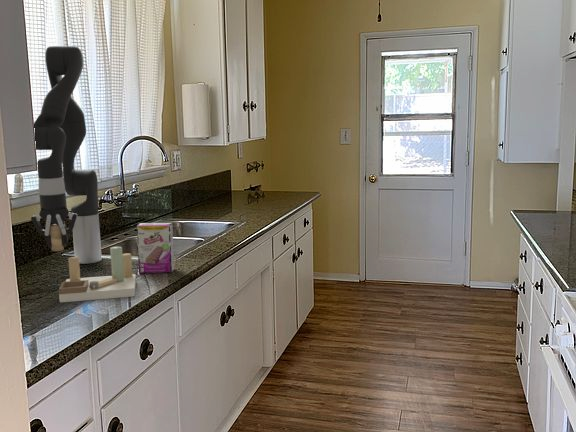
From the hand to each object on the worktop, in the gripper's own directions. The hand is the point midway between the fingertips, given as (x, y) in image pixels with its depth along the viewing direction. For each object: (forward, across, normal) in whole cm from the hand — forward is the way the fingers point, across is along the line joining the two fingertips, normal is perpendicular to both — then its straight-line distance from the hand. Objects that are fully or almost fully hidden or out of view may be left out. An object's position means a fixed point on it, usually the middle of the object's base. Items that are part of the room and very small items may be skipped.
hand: (57, 245), depth 182 cm
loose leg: (+1, 0, 0) cm, 1 cm away
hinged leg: (+9, -15, +15) cm, 23 cm away
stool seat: (+12, -13, +14) cm, 22 cm away
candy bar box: (+12, -30, -4) cm, 33 cm away
